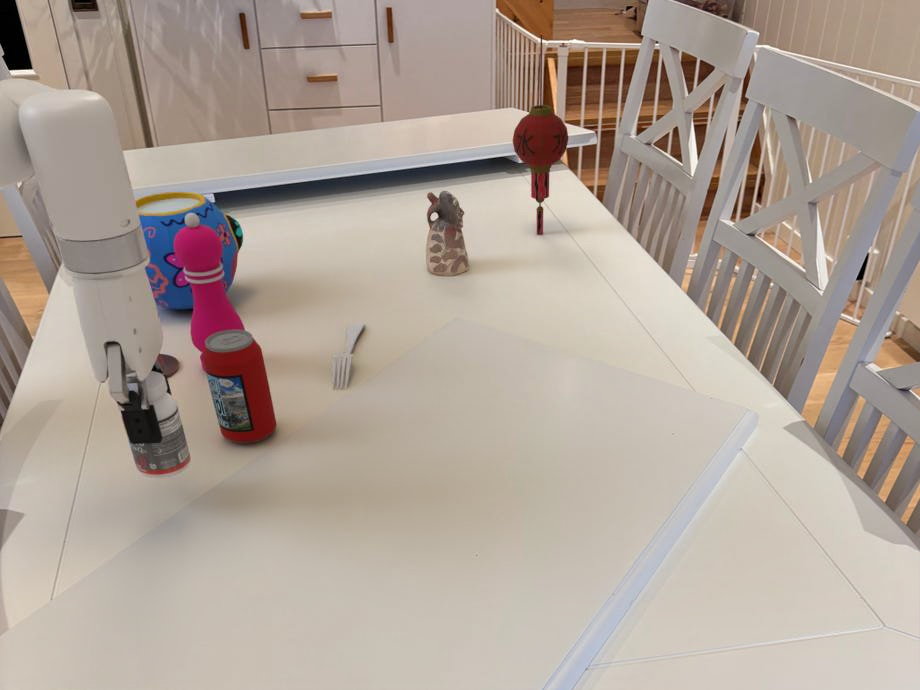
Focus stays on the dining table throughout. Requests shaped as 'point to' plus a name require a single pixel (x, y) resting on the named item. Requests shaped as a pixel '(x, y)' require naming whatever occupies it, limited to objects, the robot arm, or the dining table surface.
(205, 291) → the pepper mill
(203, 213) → the ceramic pot
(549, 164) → the lantern
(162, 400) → the pill bottle
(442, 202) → the figurine
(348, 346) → the fork
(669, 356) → the dining table surface
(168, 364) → the coaster
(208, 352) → the beverage can
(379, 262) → the dining table surface
